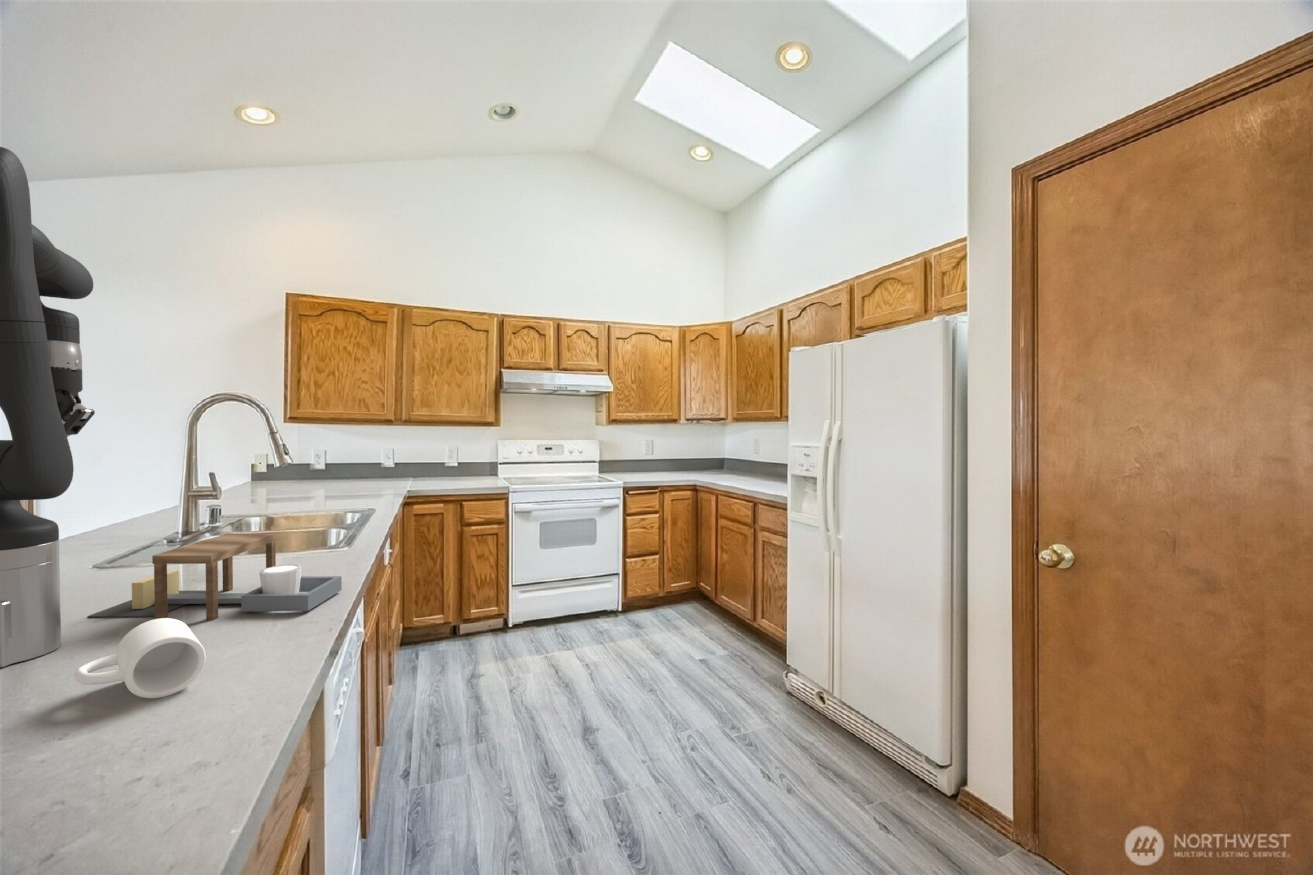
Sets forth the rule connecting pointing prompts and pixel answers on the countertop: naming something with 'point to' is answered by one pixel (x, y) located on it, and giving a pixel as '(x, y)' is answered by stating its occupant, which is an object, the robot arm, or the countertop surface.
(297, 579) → the white cup
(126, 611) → the mat
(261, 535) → the small wooden table
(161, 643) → the mug
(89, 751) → the countertop surface
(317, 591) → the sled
